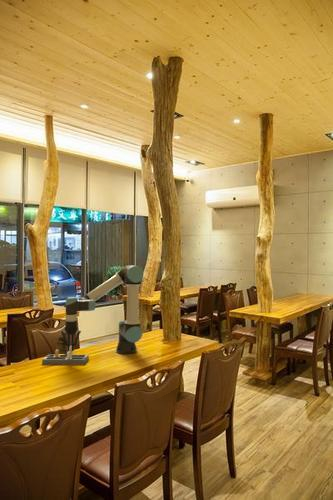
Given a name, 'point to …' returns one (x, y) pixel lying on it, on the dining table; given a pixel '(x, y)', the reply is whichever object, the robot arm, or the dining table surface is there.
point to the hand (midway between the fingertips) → (70, 355)
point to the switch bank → (62, 360)
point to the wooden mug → (62, 345)
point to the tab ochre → (57, 353)
